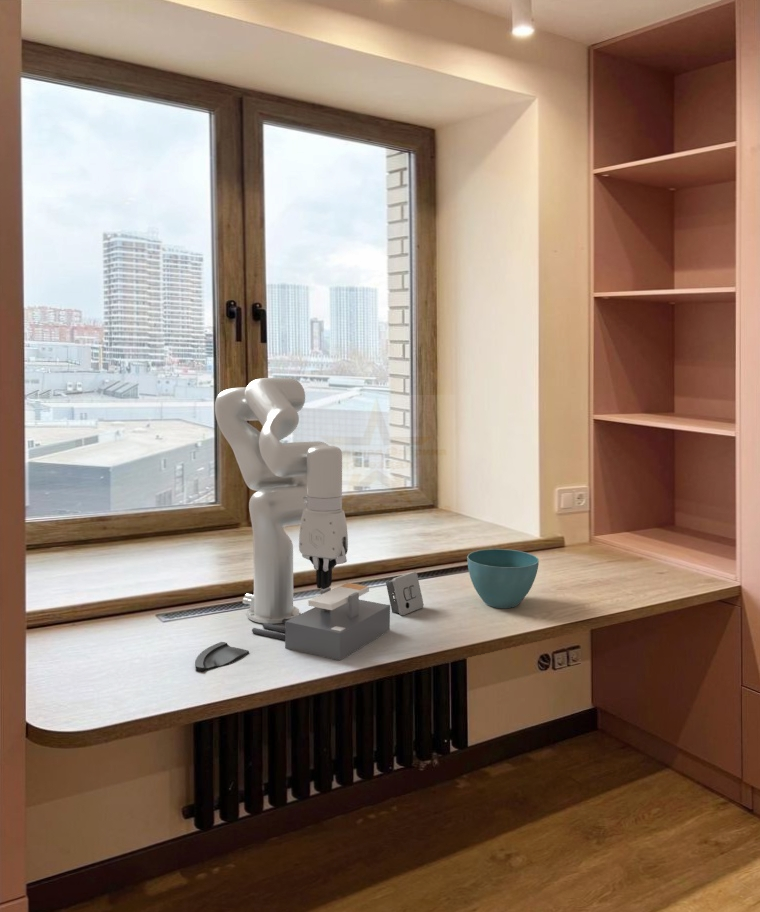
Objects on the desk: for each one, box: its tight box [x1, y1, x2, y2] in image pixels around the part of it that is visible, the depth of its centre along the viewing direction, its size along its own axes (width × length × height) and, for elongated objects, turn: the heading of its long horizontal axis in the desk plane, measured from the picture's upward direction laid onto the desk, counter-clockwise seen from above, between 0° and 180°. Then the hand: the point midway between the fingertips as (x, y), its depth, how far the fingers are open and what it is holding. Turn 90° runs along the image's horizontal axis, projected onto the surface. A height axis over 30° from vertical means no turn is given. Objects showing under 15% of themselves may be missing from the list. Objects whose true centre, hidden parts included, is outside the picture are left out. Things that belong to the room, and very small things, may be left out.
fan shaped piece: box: [194, 641, 250, 673], centre depth 171 cm, size 8×14×2 cm, turn 152°
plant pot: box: [466, 548, 540, 609], centre depth 211 cm, size 18×18×12 cm
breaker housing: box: [284, 586, 391, 661], centre depth 183 cm, size 14×22×11 cm, turn 151°
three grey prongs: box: [251, 619, 289, 641], centre depth 188 cm, size 12×10×1 cm
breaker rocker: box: [307, 582, 370, 610], centre depth 183 cm, size 6×16×1 cm, turn 151°
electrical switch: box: [385, 571, 424, 616], centre depth 205 cm, size 9×5×9 cm, turn 141°
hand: (324, 587), depth 176 cm, fingers closed
